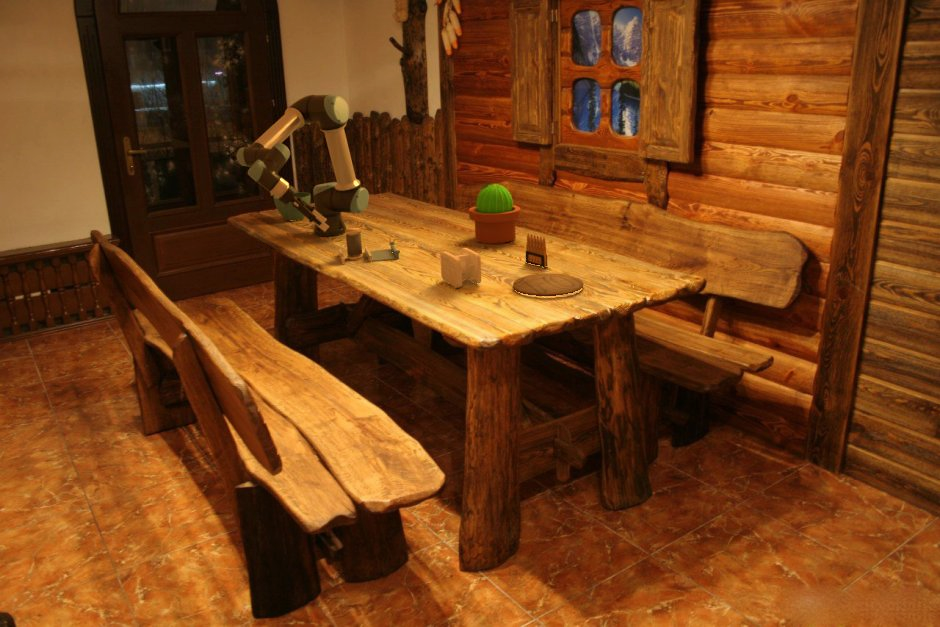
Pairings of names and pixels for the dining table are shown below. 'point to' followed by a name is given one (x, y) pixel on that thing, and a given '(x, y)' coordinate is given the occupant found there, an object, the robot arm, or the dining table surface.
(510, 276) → the dining table surface
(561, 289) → the trivet
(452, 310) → the dining table surface
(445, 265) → the cable organizer
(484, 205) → the potted cactus
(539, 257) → the ammunition clip
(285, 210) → the green rounded bowl
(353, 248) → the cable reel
